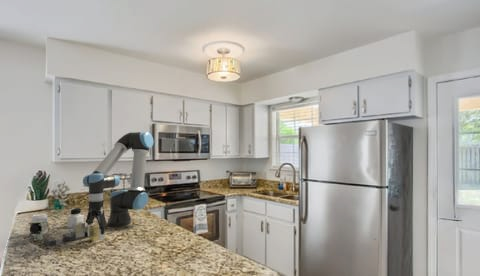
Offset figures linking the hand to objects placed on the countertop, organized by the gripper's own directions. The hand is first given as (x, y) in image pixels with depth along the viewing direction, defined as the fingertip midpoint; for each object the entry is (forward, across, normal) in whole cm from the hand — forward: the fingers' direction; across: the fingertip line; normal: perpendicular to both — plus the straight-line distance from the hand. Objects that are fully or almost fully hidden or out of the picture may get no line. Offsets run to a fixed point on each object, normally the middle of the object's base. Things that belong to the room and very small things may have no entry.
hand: (95, 237), depth 158 cm
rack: (+1, -13, -9) cm, 16 cm away
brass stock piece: (+1, 0, 0) cm, 1 cm away
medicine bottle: (+2, -42, +6) cm, 42 cm away
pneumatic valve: (+2, -28, -19) cm, 34 cm away
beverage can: (+2, -41, -15) cm, 44 cm away
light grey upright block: (+1, -13, -4) cm, 14 cm away
